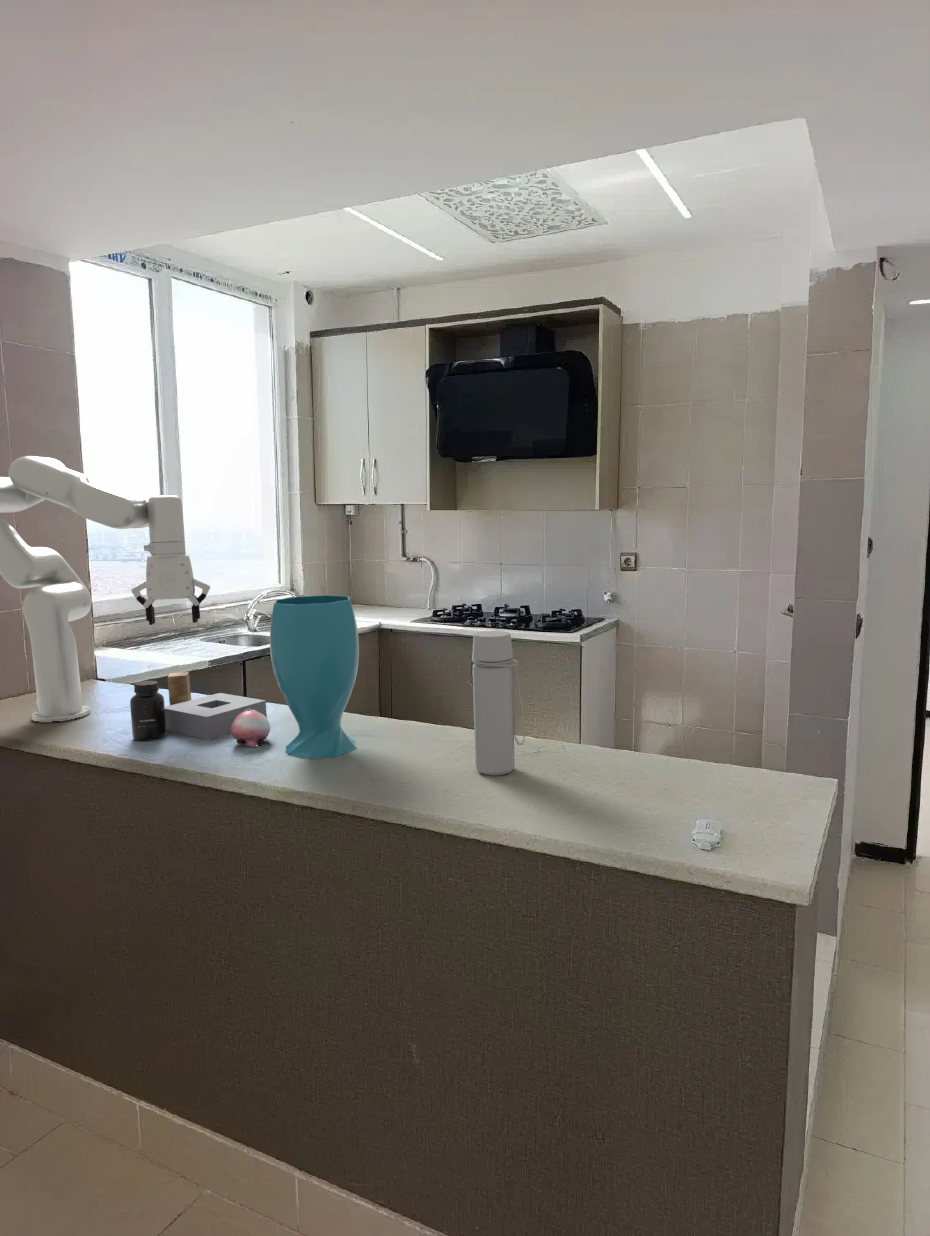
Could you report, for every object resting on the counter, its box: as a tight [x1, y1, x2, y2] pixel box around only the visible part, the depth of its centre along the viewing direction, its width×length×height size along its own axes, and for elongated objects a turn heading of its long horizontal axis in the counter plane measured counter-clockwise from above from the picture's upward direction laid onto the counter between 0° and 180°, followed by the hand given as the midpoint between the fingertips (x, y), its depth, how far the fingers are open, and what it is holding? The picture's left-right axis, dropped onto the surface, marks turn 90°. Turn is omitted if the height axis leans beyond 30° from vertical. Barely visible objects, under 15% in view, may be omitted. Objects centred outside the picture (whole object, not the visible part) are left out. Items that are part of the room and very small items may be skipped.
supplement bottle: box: [129, 680, 167, 742], centre depth 173 cm, size 7×7×12 cm
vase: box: [269, 594, 360, 760], centre depth 160 cm, size 17×17×30 cm
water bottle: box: [471, 630, 526, 777], centre depth 143 cm, size 9×8×25 cm
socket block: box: [165, 692, 268, 741], centre depth 181 cm, size 16×16×5 cm
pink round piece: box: [230, 709, 271, 748], centre depth 166 cm, size 8×8×7 cm
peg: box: [167, 671, 192, 706], centre depth 190 cm, size 4×4×10 cm
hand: (173, 623), depth 187 cm, fingers open, 9 cm apart
